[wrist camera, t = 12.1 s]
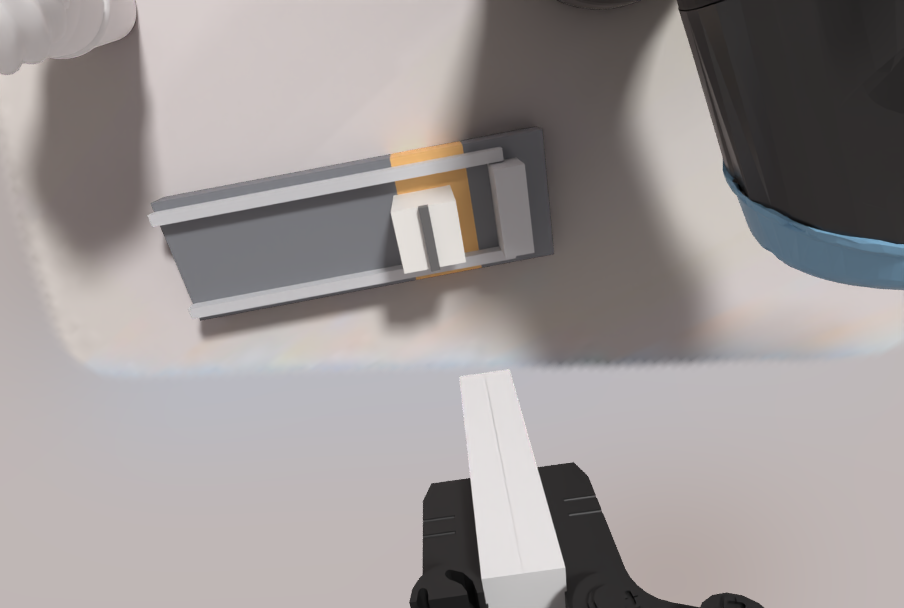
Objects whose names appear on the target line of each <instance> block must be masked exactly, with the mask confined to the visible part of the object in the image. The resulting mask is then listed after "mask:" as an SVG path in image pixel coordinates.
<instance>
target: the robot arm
mask: <svg viewBox="0 0 904 608" xmlns="http://www.w3.org/2000/svg"><path fill="white" fill-rule="evenodd" d="M558 1H560V2H563V3H565V4H568V5H571V6H575V7H580V8H586V9H610V8H617V7H621V6H625V5H628V4H631V3H634V2H637V1H640V0H558ZM677 2H678V6H679V8H678V9H679V12H680V15H681V19H682V22H683V25H684V28H685V31H686V35H687V38H688V41H689V44H690V48H691V51H692V54H693V58H694V61H695V64H696V68H697V71H698V75H699V78H700V81H701V85H702V88H703V92H704V95H705V98H706V102H707V105H708V109H709V112H710V116H711V119H712V122H713V126H714V129H715V133H716V136H717V139H718V143H719V146H720V150H721V153H722V156H723V173H724V176H725V179H726V181H727V183H728V185H729V186H730V188H731V190H732V191H733V192H734V193H735V194H736V195H737V197H738V200H739V203H740V205H741V208H742V211H743V213H744V216H745V219H746V221H747V224H748V226H749V229H750V231H751V233H752V234H753V236H754V237H755V239H756V240H757V241H758V242H759V244H760V245H761V246H762V247H763V248H765V249H766V250H768V251H770V252H772V253H773V254H774V255H775V256H776V257H777V258H778V259H779V260H781V261H783V262H784V263H785V264H787V265H788V266H790V267H792V268H795V269H797V270H800V271H802V272H804V273H807V274H809V275H812V276H815V277H818V278H822V279H825V280H829V281H833V282H838V283H842V284H848V285H853V286H861V287H870V288H878V289H894V290H904V0H677ZM459 379H460V388H461V397H462V406H463V415H464V424H465V433H466V443H467V452H468V461H469V470H470V478H468V479H461V480H454V481H446V482H440V483H432V484H431V486H430V488H429V490H428V492H427V494H426V496H425V498H424V500H423V575H422V576H421V577H420V578H419V580H418V581H417V583H416V584H415V586H414V587H413V589H412V594H411V598H410V602H409V603H410V607H411V608H764V607H762V605H760V604H759V603H757V602H755V601H753V600H751V599H749V598H747V597H745V596H742V595H737V594H731V593H722V594H717V595H712V596H710V597H709V598H708V599H706V600H705V601H704V602H702V605H701V607H694V606H689V605H683V604H678V603H672V602H668V601H665V600H661V599H658V598H656V597H654V596H652V595H650V594H648V593H646V592H645V591H644V590H643V589H641V588H640V587H639V586H637V585H636V583H635V582H634V581H633V580H632V579H631V578H630V576H629V574H628V573H627V571H626V569H625V567H624V565H623V562H622V560H621V557H620V555H619V552H618V550H617V547H616V545H615V542H614V540H613V537H612V535H611V532H610V530H609V527H608V525H607V522H606V520H605V517H604V515H603V513H602V511H601V507H600V505H599V502H598V500H597V498H596V496H595V493H594V490H593V487H592V485H591V483H590V480H589V477H588V476H587V475H586V474H585V473H584V472H583V471H582V470H581V469H580V468H579V467H578V466H577V465H576V464H575V463H566V464H558V465H551V466H544V467H537V465H536V461H535V458H534V454H533V451H532V447H531V444H530V440H529V436H528V433H527V430H526V426H525V423H524V419H523V415H522V412H521V408H520V404H519V401H518V397H517V394H516V390H515V387H514V383H513V380H512V376H511V372H510V369H507V370H500V371H493V372H486V373H479V374H472V375H465V376H459Z"/></svg>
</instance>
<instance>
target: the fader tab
mask: <svg viewBox="0 0 904 608" xmlns="http://www.w3.org/2000/svg"><path fill="white" fill-rule="evenodd" d="M391 216H392V221H393V225H394V230H395V234H396V239H397V243H398V247H399V252H400V256H401V261H402V265H403V269H404V274H406V273H411V272H417V271H422V270H427V269H431V272H432V271H438V270H440V267H443V266H449V265H454V264H459V263H465V262H466V258H465V252H464V246H463V241H462V235H461V229H460V223H459V217H458V211H457V205H456V200H455V197H454V195H453V192H452V189H451V186H450V185H447V186H442V187H436V188H431V189H426V190H421V191H415V192H410V193H405V194H399V195H394V196H393V202H392V208H391Z"/></svg>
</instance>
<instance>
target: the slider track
mask: <svg viewBox="0 0 904 608" xmlns="http://www.w3.org/2000/svg"><path fill="white" fill-rule="evenodd" d="M447 185H450V186H451V189H452V192H453V195H454V197H455V200H456V205H457V211H458V217H459V223H460V229H461V235H462V241H463V246H464V252H465V258H466V262H465V263H459V264H454V265H449V266H443V267H440V270H438V271H432V272H431V269H427V270H422V271H417V272H411V273H406V274H404V269H403V265H402V261H401V256H400V252H399V247H398V243H397V239H396V234H395V230H394V225H393V221H392V216H391V208H392V202H393V196H394V195H399V194H405V193H410V192H415V191H421V190H426V189H431V188H436V187H442V186H447ZM151 206H152V208H153V210H154V212H153V213H151V214H149V215H147V216H148V218H149V221H150V223H151V225H152V227H156V226H160V227H161V229H162V232H163V234H164V236H165V239H166V241H167V243H168V246H169V248H170V250H171V253H172V255H173V257H174V260H175V262H176V265H177V267H178V269H179V272H180V274H181V276H182V279H183V281H184V283H185V286H186V288H187V290H188V293H189V295H190V298H191V300H192V302H193V305H192V306H191V307H190V308H189V309H188V311H189V314H190V316H191V318H192V319H196V318H199V319H200V321H201V320H206V319H211V318H217V317H222V316H227V315H232V314H238V313H243V312H248V311H254V310H259V309H264V308H270V307H275V306H280V305H286V304H291V303H296V302H302V301H307V300H312V299H318V298H323V297H328V296H333V295H339V294H344V293H349V292H355V291H360V290H365V289H371V288H376V287H381V286H387V285H392V284H397V283H403V282H408V281H413V280H418V279H424V278H429V277H434V276H440V275H445V274H450V273H456V272H461V271H466V270H472V269H477V268H482V267H488V266H493V265H498V264H504V263H509V262H514V261H519V260H525V259H530V258H535V257H541V256H546V255H551V254H554V248H553V238H552V227H551V216H550V206H549V195H548V184H547V174H546V163H545V152H544V142H543V131H542V129H540V128H538V127H532V128H526V129H521V130H516V131H511V132H505V133H500V134H495V135H489V136H484V137H479V138H474V139H468V140H463V141H458V142H452V143H447V144H442V145H437V146H431V147H426V148H421V149H415V150H410V151H405V152H400V153H394V154H389V155H384V156H378V157H373V158H368V159H363V160H357V161H352V162H347V163H342V164H336V165H331V166H326V167H320V168H315V169H310V170H305V171H299V172H294V173H289V174H283V175H278V176H273V177H268V178H262V179H257V180H252V181H246V182H241V183H236V184H231V185H225V186H220V187H215V188H209V189H204V190H199V191H194V192H188V193H183V194H178V195H173V196H167V197H163V198H161V199H159V200H157V201H155V202H153V203H151Z"/></svg>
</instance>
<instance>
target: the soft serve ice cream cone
mask: <svg viewBox="0 0 904 608" xmlns="http://www.w3.org/2000/svg"><path fill="white" fill-rule="evenodd" d="M135 20H136V4H135V0H0V74H3V75H10V74H14V73H15V72H17V71H18V70H19V68H20V67H21V65H22V63H26V64H37V63H41V62H43V61H44V60H46V59H48V58H53V59H70V58H75V57H79V56H82V55H84V54H86V53H87V52H89V51H91V50H92V49H93V48H96V47H99V46H102V45H105V44H108V43H111V42H114V41H117V40H120V39H122V38H124V37H125V36H126V35H127V34H128V33H130V31H131V30H132V28H133V26H134V23H135Z"/></svg>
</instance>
